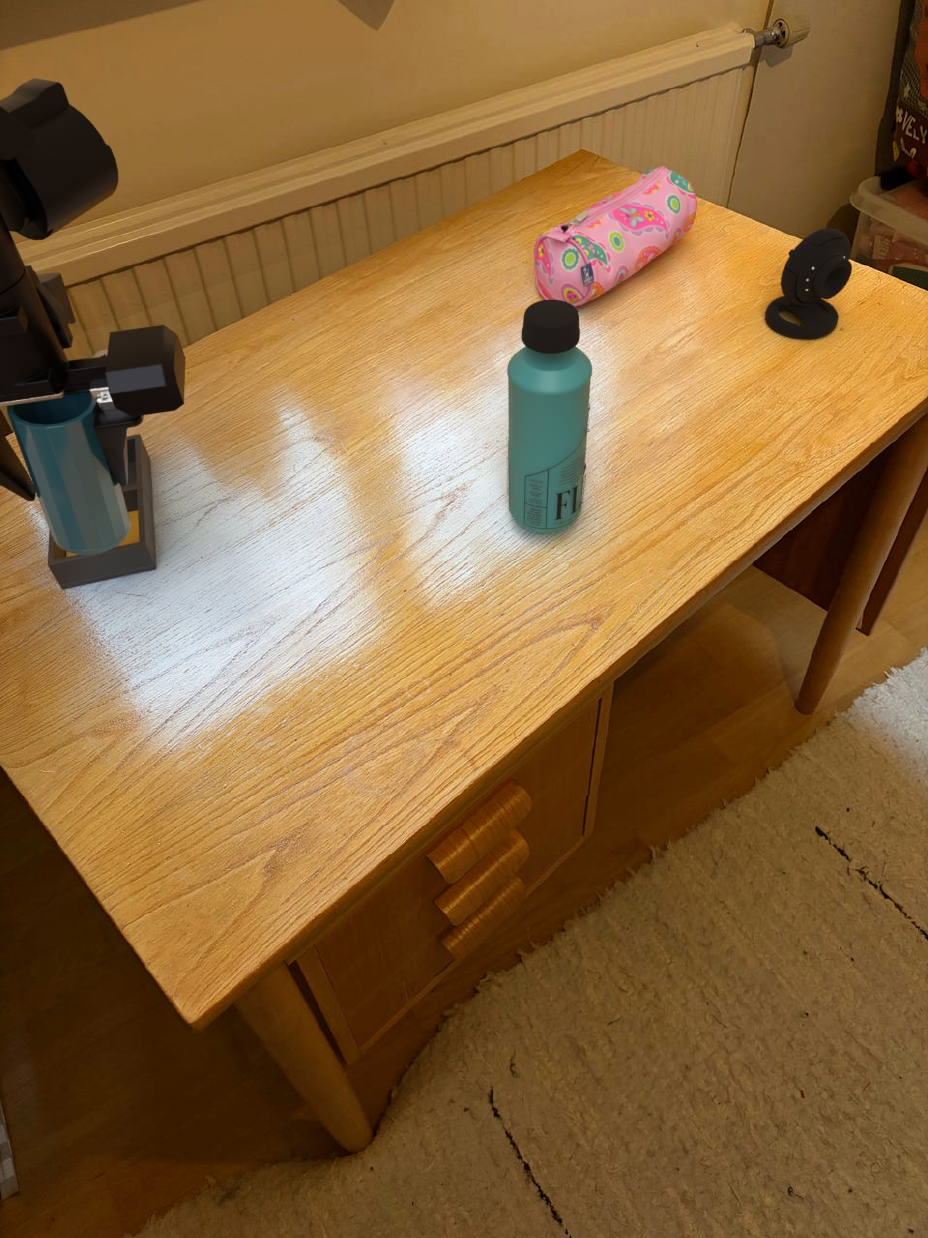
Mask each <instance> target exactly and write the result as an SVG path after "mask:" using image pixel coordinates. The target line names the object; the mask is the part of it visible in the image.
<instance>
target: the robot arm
mask: <svg viewBox="0 0 928 1238" xmlns="http://www.w3.org/2000/svg"><path fill="white" fill-rule="evenodd" d="M118 184H119V167H118V164H117V159H116V157H115V155H114V152H113V149H112V147H111V146H110V145H109V144H107V143H106V142H105V139H104V138H103V136H102V135H101V133H100V131H98V130H97V128H96V126H95V125H94V124H93V123H92V122H91V120H89V118H88V117H86V115H85V114H84V113H82V112H81V111H80V110H78V109H77V108H76V107H74V105H72V104H71V103H70V102H69V98H68V96H67V94H66V90H65V88H64V85H63V84H62V83H61V82H59V81H53V80H47V79H41V78H37V77H34V78H31V79H29V80H28V81H26V82H23V83H21V84H20V85H19V86H17V88H15V90H14V91H13V92H12V93H11V94H8V95H7V96H5V97H4V98H2V99H0V408H3V407H7V406H10V405H17V404H24V403H31V402H37V401H44V400H51V399H58V398H63V397H64V396H65V395H71V394H78V393H85V392H91V395H92V397H93V399H94V400H95V399H97V400H96V407H95V415H94V422H93V429H94V431H95V434H96V436H97V438H98V441H99V443H100V445H101V448H102V450H103V452H104V455H105V457H106V459H107V461H108V464H109V466H110V468H111V471H112V473H113V475H114V477H115V479H116V480H117V481H118V483H119V484H120V486H121V487H126V486H127V484H128V457H127V436H128V429H130V428H136V427H138V426H140V425H141V424H142V423H143V422H144V416H148V415H155V414H161V413H169V412H176V410H178V409H179V408H181V407H182V406H184V405H185V387H186V386H185V384H186V355H185V353H184V349H183V346H182V343H181V340H180V337H179V335H178V334H177V333H175V332H174V331H173V330H172V329H171V328H169V327H168V326H167V325H165V324H158V325H151V326H144V327H138V328H137V327H136V328H130V329H123V330H116V331H110V332H109V337H108V346H107V348H106V349H101V350H98V351H96V352H95V353H94V354H93V355H92V356H90V357H84V358H77V359H76V358H75V359H71V360H69V359H68V357H67V355H66V352H65V350H64V349H70V348H71V349H72V346H73V342H74V341H73V340H74V336H73V333H72V331H71V329H70V326H69V325H73V324H75V323H76V322H77V320H76V317H75V313H74V311H73V310H74V309H73V307H72V304H71V302H70V297H69V295H68V291H67V288H66V286H65V283H64V278H63V276H62V274H61V272H47V273H46V272H45V273H39V274H37V272H36V270H34V268H33V266H32V264H27V265H26V264H25V263H24V260H23V258H22V256H21V253H20V252H19V249H18V247H17V245H16V242H15V240H14V238H13V236H12V234H11V232H13V233H17V234H18V235H20V236H22V237H24V238H26V239H28V240H32V241H44V240H45V239H48V238H50V237H51V236H53V235H54V234H55V233H57V232H59V231H60V230H62V229H63V228H65V227H67V226H68V225H69V224H70V223H72V222H73V221H75V220H76V219H78V218H79V217H81V216H83V215H84V214H86V213H87V212H89V211H90V210H92V209H94V208H95V207H96V206H98V205H99V204H100V203H103V202H104V201H105V200H107V199H108V198H110V197H111V196H113V195H114V193H115V192H116V191H117V189H118V186H119V185H118ZM0 486H1V487H3V488H4V489H6V490H8V492H9V491H10V492H11V493H13V494H15V495H16V496H18V497H20V498H22V499H23V500H25V501H27V502H34V501H35V500H36V496H37V493H36V491H35V488H34V485H33V482H32V480H31V477H30V474H29V471H28V470H27V469H26V468H25V466H24V464H23V462H22V461H21V459H20V458H19V456H18V455H17V453H16V452H15V449H14V448H13V447H12V445H11V444H10V442H9V440H8V439H7V437H6V436H5V434H4V432H3V431H2V429H1V428H0Z"/></svg>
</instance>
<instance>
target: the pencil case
mask: <svg viewBox="0 0 928 1238" xmlns="http://www.w3.org/2000/svg"><path fill="white" fill-rule="evenodd" d="M697 207H698V200H697V195H696V191H695V188H694V187H693V185H692V184H691V182H690V181H689V180H688V179H687V178H686V177H684V176H683V175H681V174H679V173H678V172H676V171H674V170H670V169H669V168H667V167H666V166H661V165H660V166H658V167H656V168H651V169H649V170H646V171H644V172H643V173H642V174H641V175H640V176H639V177H638V179H637V181H636V183H634V184H632V185H629V186H627V187H625V188H623V189H622V190H620V191H619V192H616V193H613V194H610V195H607V196H606V197H604V198H602V199H600V200H598V201H596V202H595V203H594V204H592V205H591V206H589V207H588V208H586V209H585V210H584V211H582V212H580V213H578V214H577V215H576V216H575V217H574V218H572V219H570V221H567V222H562V223H560V224H558V225H556V226H553V227H551V228H549V229H547V230H545V231H544V232H542V233H540V235H539V236H538V237H537V239H536V240H535V242H534V246H533V260H534V261H533V263H534V278H535V285H536V287H537V291H538V292H539V294H540V295H541V297H542V298H543V300H549V299H555V300H562V301H565V302H568V303H570V304H572V305H573V306H575V307H576V308H577V307H579V306H582V305H584V304H586V303H588V302H591V301H593V300H596V299H597V298H599V297H601V296H602V295H603V294H605V293H607V292H609V291H610V290H612V289H613V288H614V287H616V286H618V285H619V284H620V283H622V282H624V281H625V280H627V279H629V278H630V277H631V276H633V275H635V274H636V273H637V272H639V271H640V270H642V268H644V267H645V266H646V265H648V264H649V263H651V262H652V261H653V260H654V259H656V258H657V257H659V255H661V254H663V253H664V252H665V251H666V250H667V249H669V248H670V247H671V246H672V245H674V244H675V243H676V242H678V241H681V240H682V239H683V238H684V237H685V236H687V234H688V233H689V232H690V231H691V229H692V227H693V226H694V224H695V220H696V216H697Z"/></svg>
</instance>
